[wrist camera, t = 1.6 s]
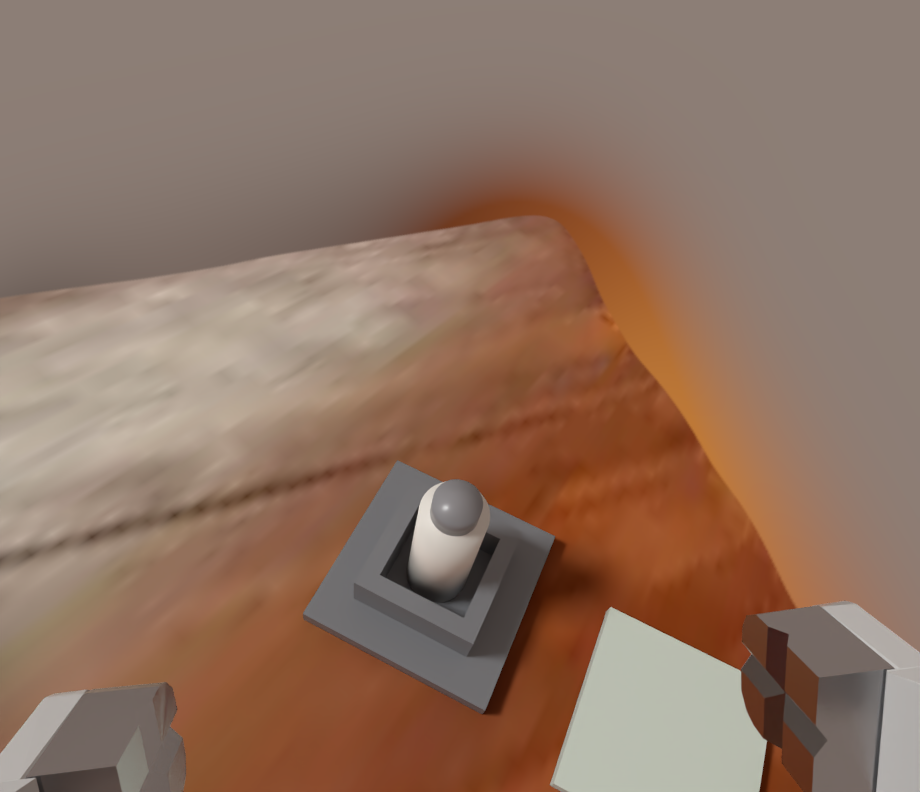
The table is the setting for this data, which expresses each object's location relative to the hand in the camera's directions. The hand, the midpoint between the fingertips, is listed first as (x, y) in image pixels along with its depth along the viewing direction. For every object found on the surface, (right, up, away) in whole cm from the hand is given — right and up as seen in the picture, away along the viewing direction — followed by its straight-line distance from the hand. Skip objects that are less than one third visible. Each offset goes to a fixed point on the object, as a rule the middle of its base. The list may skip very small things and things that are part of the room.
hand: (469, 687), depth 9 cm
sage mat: (+11, -14, +27) cm, 32 cm away
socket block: (-2, -7, +30) cm, 31 cm away
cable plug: (-2, -6, +29) cm, 30 cm away
